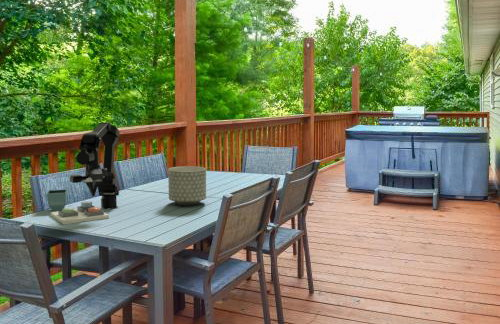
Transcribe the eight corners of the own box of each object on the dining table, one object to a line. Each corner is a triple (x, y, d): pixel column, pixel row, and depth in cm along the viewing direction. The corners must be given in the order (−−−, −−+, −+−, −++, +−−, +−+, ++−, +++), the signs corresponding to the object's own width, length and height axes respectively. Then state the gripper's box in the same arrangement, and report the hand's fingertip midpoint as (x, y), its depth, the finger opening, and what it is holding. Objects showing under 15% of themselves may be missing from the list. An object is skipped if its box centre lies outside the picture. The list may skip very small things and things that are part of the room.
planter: (199, 208, 248) (199, 172, 246) (163, 206, 252) (162, 170, 250) (210, 200, 267) (210, 166, 264) (176, 199, 270) (175, 165, 268)
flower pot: (47, 212, 240) (46, 193, 239) (49, 208, 248) (48, 190, 247) (66, 211, 242) (66, 192, 241) (68, 207, 251) (67, 189, 249)
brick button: (97, 211, 232) (97, 206, 232) (101, 213, 229) (100, 208, 228) (87, 213, 230) (86, 207, 229) (90, 215, 226) (90, 209, 225)
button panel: (94, 210, 244) (93, 203, 244) (108, 218, 228) (108, 211, 228) (51, 215, 233) (50, 209, 232) (63, 224, 217) (63, 217, 216)
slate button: (90, 206, 240) (90, 200, 240) (93, 207, 237) (93, 202, 236) (80, 207, 238) (79, 202, 237) (83, 209, 234) (83, 203, 233)
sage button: (72, 212, 231) (71, 207, 230) (75, 214, 227) (75, 209, 227) (61, 214, 228) (61, 208, 228) (64, 216, 224) (64, 210, 224)
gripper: (76, 165, 214) (77, 201, 216) (118, 162, 225) (119, 196, 227) (68, 162, 223) (70, 197, 225) (109, 159, 234) (110, 193, 236)
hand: (93, 196), depth 228 cm, fingers closed
